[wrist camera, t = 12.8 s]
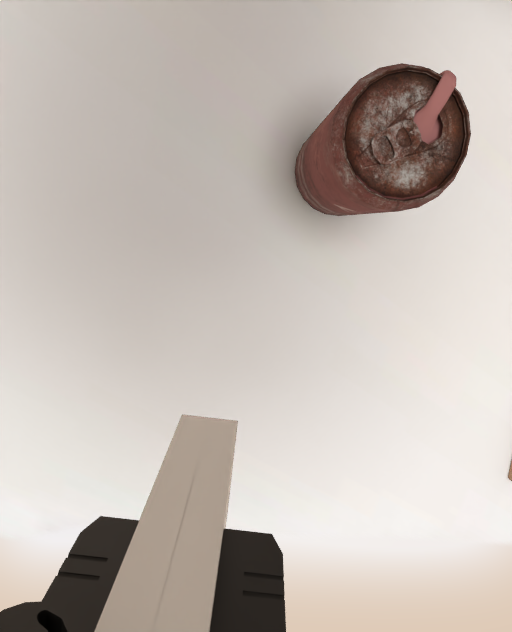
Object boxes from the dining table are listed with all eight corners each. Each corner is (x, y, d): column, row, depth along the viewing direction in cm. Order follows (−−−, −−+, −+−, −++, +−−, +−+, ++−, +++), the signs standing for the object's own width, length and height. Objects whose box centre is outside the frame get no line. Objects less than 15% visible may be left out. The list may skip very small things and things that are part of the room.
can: (396, 147, 33) (510, 94, 19) (354, 229, 34) (434, 234, 20) (320, 106, 32) (383, 20, 19) (279, 191, 33) (310, 169, 20)
